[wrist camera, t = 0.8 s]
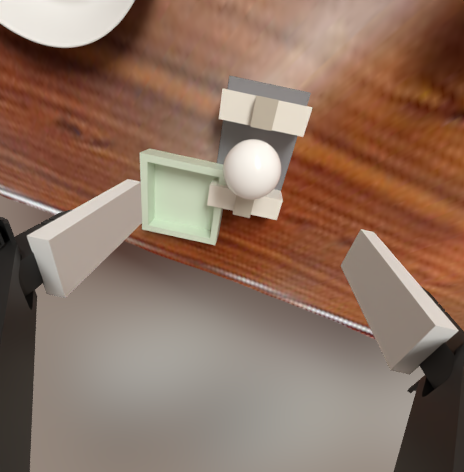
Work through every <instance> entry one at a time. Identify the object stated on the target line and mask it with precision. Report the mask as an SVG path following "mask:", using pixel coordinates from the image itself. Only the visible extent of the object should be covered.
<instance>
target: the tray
mask: <svg viewBox="0 0 464 472" xmlns="http://www.w3.org/2000/svg"><path fill="white" fill-rule="evenodd" d="M140 176H141V203H142V230H147V231H152V232H156V233H161V234H166V235H170V236H175V237H179V238H184V239H189V240H193V241H198V242H203V243H207V244H212V245H215V244H216V241H217V238H218V235H219V229H220V224H221V218H222V212H223V208H218V207H214V206H209V205H207V202H208V195H209V187H210V184H211V182H212V181H213V179H214V178H218V179H219V183H218V184H219V185H224V186H225V185H226V182H225V180H224V176H223V164H219V163H214V162H210V161H205V160H200V159H196V158H191V157H186V156H182V155H177V154H172V153H168V152H163V151H158V150H154V149H148V150H145V151H143V152H140Z"/></svg>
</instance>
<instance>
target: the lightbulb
mask: <svg viewBox="0 0 464 472" xmlns="http://www.w3.org/2000/svg"><path fill="white" fill-rule="evenodd" d="M223 176H224V180H225V182H226V184H227V186H228V188H229V189H230V190H231V191H232V192H233V193H234V194H235V195H237V196H238V197H240V198H243V199H248V200H255V199H260V198H262V197H265V196H266V195H268V194H269V193H271V192H272V191H273V190H274V188H275V187H276V186H277V184H278V182H279V179H280V176H281V161H280V158H279V156H278V154H277V152H276V151H275V149H274V148H273V147H272V146H271V145H269V144H268V143H266V142H264V141H261V140H257V139H249V140H244V141H242V142H239V143H238V144H236V145H235V146H234V147H233V148H232V149H231V150H230V151H229V152H228V154H227V156H226V158H225V160H224V164H223Z"/></svg>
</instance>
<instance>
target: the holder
mask: <svg viewBox="0 0 464 472" xmlns="http://www.w3.org/2000/svg"><path fill="white" fill-rule="evenodd" d="M310 94H311V93H309V92H304V91H300V90H295V89H290V88H286V87H281V86H276V85H271V84H267V83H262V82H257V81H252V80H248V79H243V78H238V77H234V76H229V83H228V89H223V90H222V97H221V105H220V112H219V119H222V120H223V125H222V132H221V139H220V146H219V153H218V160H217V163H219V164H224V160H225V158H226V156H227V154H228V152H229V151H230V150H231V149H232V148H233V147H234V146H235V145H236V144H238V143H239V142H242V141H244V140H249V139H257V140H261V141H264V142H266V143H268V144H269V145H271V146H272V147H273V148H274V149H275V151H276V152H277V154H278V156H279V158H280V161H281V176H280V179H279V182H278V184H277V186H276V187H275V188H274V190H273V191H272V192H271V193H269V194H268V195H266V196H265V197H262V198H260V199H255V200H248V199H243V198H240V197H238V196H237V195H235V194H234V193H233V192H232V191H231V190H230V189H229V188H228V186H227V184H226V185H225V186H224V185H219V184H218V183H219V179H218V178H214V179H213V181H212V182H211V184H210V187H209V195H208V202H207V205H209V206H214V207H218V208H223V209H227V210H232V211H233V215H238V216H242V217H247V218H250V215H255V216H260V217H265V218H269V219H274V220H277V217H278V214H279V211H280V208H281V205H282V201H283V199H282V194H281V188H282V185H283V182H284V178H285V175H286V172H287V169H288V165H289V162H290V159H291V156H292V152H293V149H294V146H295V143H296V139H297V136H301V137H303V136H304V133H305V130H306V126H307V123H308V120H309V117H310V114H311V111H312V108H313V107H308V106H307V103H308V100H309V97H310Z"/></svg>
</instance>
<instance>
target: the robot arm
mask: <svg viewBox="0 0 464 472" xmlns="http://www.w3.org/2000/svg"><path fill="white" fill-rule="evenodd" d="M141 223H142V203H141V182H139V181H135V180H130V179H127V180H126V181H124V182H122V183H120V184H118V185H117V186H115V187H113V188H111V189H109V190H108V191H106V192H104V193H102V194H100V195H99V196H97V197H95V198H93V199H91V200H90V201H88V202H86V203H84V204H83V205H81V206H79V207H77V208H75V209H74V210H68V211H65V212H61V213H58V214H56V215H55V216H53V217H51V218H49V220H45V221H43V222H42V223H41V224H38V225H36V226H34V227H32V228H30V229H28V230H27V231H25V232H23V233H21V234H19V235H17V236H16V237H14V235H13V232H12V229H11V227H10V224H9V222H8V220H7V219H5V218H3V217H0V472H30V449H31V425H32V401H33V400H32V399H33V376H34V355H35V331H36V306H37V295H36V292H35V289H36V288H37V287H39V286H40V285H41V284H42V283H43V285H44V287H45V290H46V293H47V294H50V295H54V296H59V297H63V298H66V297H67V296H68V295H69V294H70V293H71V292H72V291H73V290H74V289H75V288H76V287H77V286H78V285H79V284H80V283H81V282H82V281H83V280H84V279H85V278H86V277H87V276H88V275H89V274H90V273H91V272H92V271H93V270H94V269H95V268H96V267H98V266H99V265H100V264H101V263H102V262H103V261H104V260H105V259H106V258H107V257H108V256H109V255H110V254H111V253H112V252H113V251H114V250H115V249H116V248H117V247H118V246H119V245H120V244H121V243H122V242H123V241H124V240H125V239H126V238H127V237H128V236H129V235H130V234H131V233H132V232H133V231H134V230H135V229H136V228H137V227H138V226H139V225H140V224H141ZM341 268H342V270H343V272H344V274H345V276H346V278H347V280H348V282H349V284H350V287H351V289H352V291H353V293H354V295H355V297H356V299H357V301H358V303H359V305H360V307H361V310H362V312H363V314H364V316H365V318H366V320H367V322H368V324H369V326H370V328H371V331H372V333H373V335H374V337H375V339H376V341H377V343H378V345H379V347H380V349H381V351H382V354H383V356H384V358H385V360H386V362H387V364H388V366H389V368H390V370H392V371H396V372H401V373H406V374H411V373H412V372H413V371H414V370H415V369H416V368H418V367H419V366H420V367H421V368H422V370H423V372H424V373H425V376H423V377H422V378H421V379H420V380H419V381H418V382H416V383H415V384H414V385H413V386H411V387H410V388H409V390H408V391H409V392H410V393H412V392H413V391H416V394H415V398H414V401H413V405H412V408H411V412H410V415H409V419H408V423H407V426H406V430H405V433H404V437H403V440H402V444H401V448H400V452H399V455H398V458H397V462H396V465H395V469H394V472H464V331H463V330H462V329H461V328H460V327H459V326H458V325H457V323H456V322H455V321H454V320H453V319H452V318H451V317H450V315H449V314H448V313H447V312H445V310H444V309H443V307H442V306H441V305H440V304H438V302H437V301H436V300H435V298H434V297H433V296H432V295H431V294H430V293H429V292H428V291H426V290H425V289H424V288H423V287H421V286H420V285H419V284H418V283H417V282H416V280H415V279H414V278H413V277H412V276H411V275H410V274H409V272H408V271H407V270H406V269H405V268H404V267H403V265H402V264H401V263H400V262H399V261H398V260H397V258H396V257H395V256H394V255H393V254H392V253H391V251H390V250H389V249H388V248H387V247H386V246H385V245H384V243H383V242H382V241H381V240H380V239H379V238H378V236H377V235H376V234H375V233H374V232H371V231H366V230H362V229H361V230H360V232H359V233H358V235H357V237H356V239H355V241H354V243H353V244H352V246H351V248H350V250H349V252H348V253H347V255H346V257H345V259H344V261H343V262H342V264H341Z"/></svg>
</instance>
